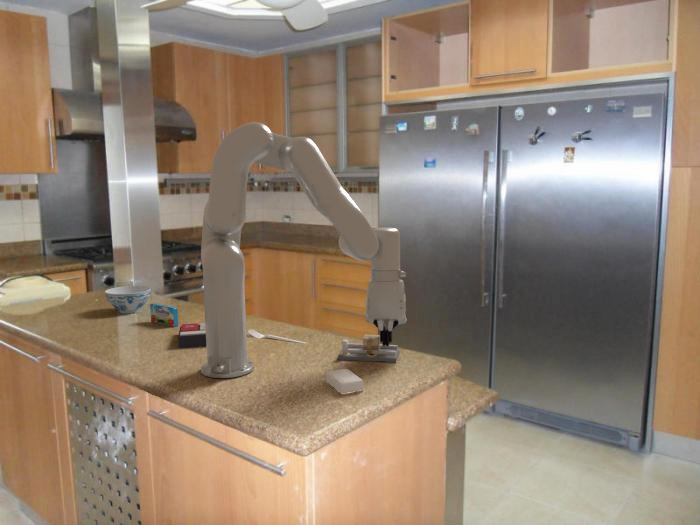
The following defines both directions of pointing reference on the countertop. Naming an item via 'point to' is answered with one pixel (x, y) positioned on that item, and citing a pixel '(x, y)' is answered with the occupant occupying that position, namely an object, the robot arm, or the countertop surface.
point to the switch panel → (357, 353)
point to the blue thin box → (164, 314)
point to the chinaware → (128, 297)
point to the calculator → (192, 335)
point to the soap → (344, 380)
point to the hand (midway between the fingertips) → (386, 344)
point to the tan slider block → (371, 343)
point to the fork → (257, 335)
